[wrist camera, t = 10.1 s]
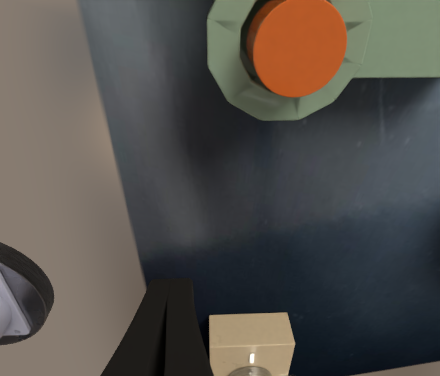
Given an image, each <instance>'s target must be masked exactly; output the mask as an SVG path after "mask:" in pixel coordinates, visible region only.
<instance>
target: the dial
mask: <svg viewBox="0 0 440 376" xmlns="http://www.w3.org/2000/svg"><path fill="white" fill-rule="evenodd" d="M229 376H272V375H271V373H270V372H269V371H268V370H267V369H264V368H261V367H254V366H251V367H243V368H239V369H237V370H235V371H233V372H232V373H230V374H229Z"/></svg>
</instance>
